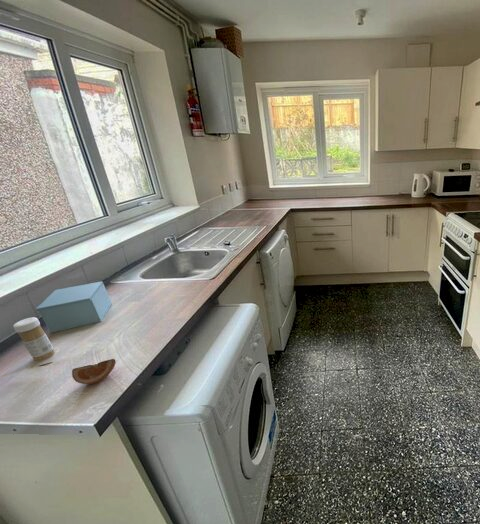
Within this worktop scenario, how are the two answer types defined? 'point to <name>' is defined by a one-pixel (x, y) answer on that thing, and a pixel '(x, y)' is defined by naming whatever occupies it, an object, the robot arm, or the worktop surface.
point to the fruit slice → (93, 372)
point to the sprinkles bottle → (34, 339)
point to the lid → (70, 296)
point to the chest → (77, 312)
